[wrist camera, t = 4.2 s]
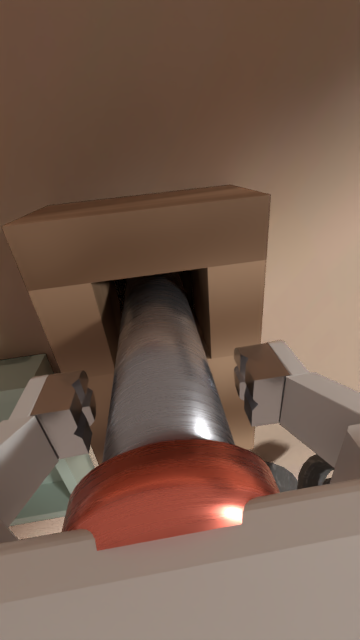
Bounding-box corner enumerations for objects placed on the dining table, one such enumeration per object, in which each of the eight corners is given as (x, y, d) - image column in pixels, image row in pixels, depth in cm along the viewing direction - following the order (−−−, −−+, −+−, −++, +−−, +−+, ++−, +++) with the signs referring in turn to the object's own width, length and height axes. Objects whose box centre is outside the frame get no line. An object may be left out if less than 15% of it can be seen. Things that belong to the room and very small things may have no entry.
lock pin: (110, 250, 15) (-1, 560, 3) (184, 241, 15) (326, 499, 3) (125, 315, 17) (88, 646, 5) (190, 306, 17) (290, 605, 5)
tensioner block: (47, 205, 13) (-68, 257, 6) (230, 184, 14) (329, 209, 6) (111, 408, 20) (93, 544, 13) (230, 389, 21) (277, 510, 14)
